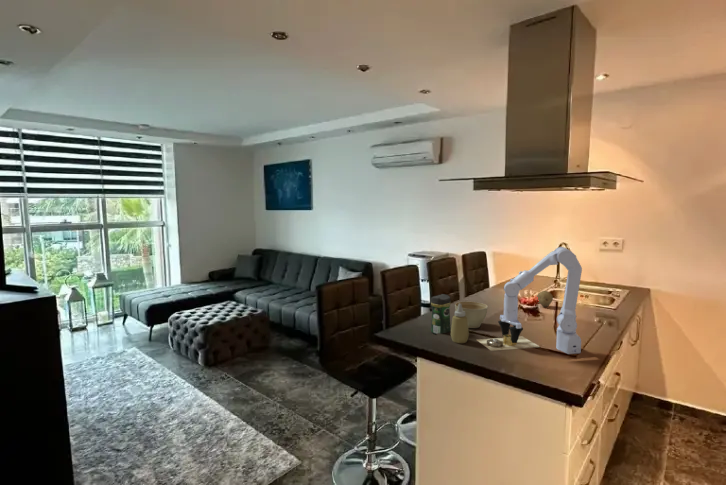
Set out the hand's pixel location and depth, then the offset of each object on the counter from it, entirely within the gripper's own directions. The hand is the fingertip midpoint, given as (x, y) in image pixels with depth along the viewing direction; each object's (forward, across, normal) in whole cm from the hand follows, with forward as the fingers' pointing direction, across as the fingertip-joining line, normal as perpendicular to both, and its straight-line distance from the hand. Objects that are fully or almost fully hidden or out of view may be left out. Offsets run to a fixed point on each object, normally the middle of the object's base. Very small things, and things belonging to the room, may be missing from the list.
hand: (509, 339), depth 178 cm
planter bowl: (+3, -31, -4) cm, 31 cm away
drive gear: (+2, 0, -7) cm, 7 cm away
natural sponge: (+3, -57, +55) cm, 79 cm away
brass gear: (+2, 0, 0) cm, 2 cm away
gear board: (+3, -1, 0) cm, 3 cm away
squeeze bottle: (+3, -8, -20) cm, 22 cm away
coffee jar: (+3, -24, -23) cm, 33 cm away
